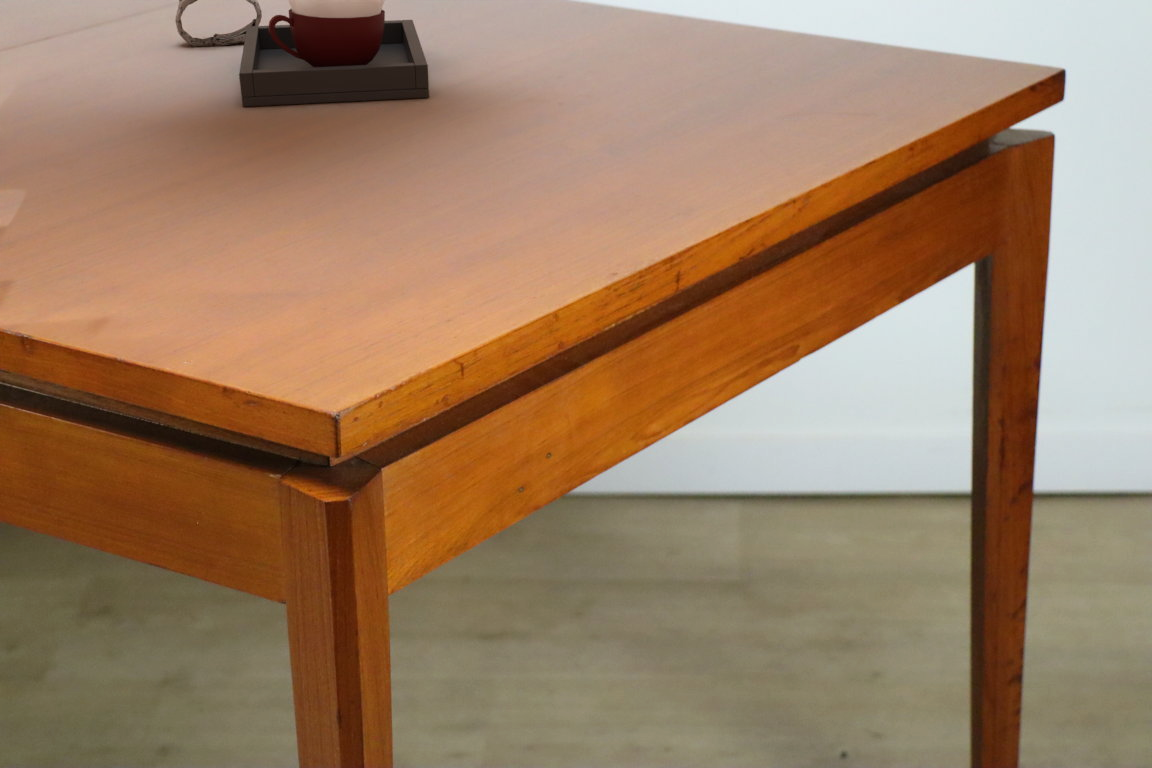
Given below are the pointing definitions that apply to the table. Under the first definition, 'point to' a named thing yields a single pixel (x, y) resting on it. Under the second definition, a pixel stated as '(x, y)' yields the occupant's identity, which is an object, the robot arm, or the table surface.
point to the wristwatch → (218, 38)
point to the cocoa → (333, 31)
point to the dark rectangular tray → (331, 70)
